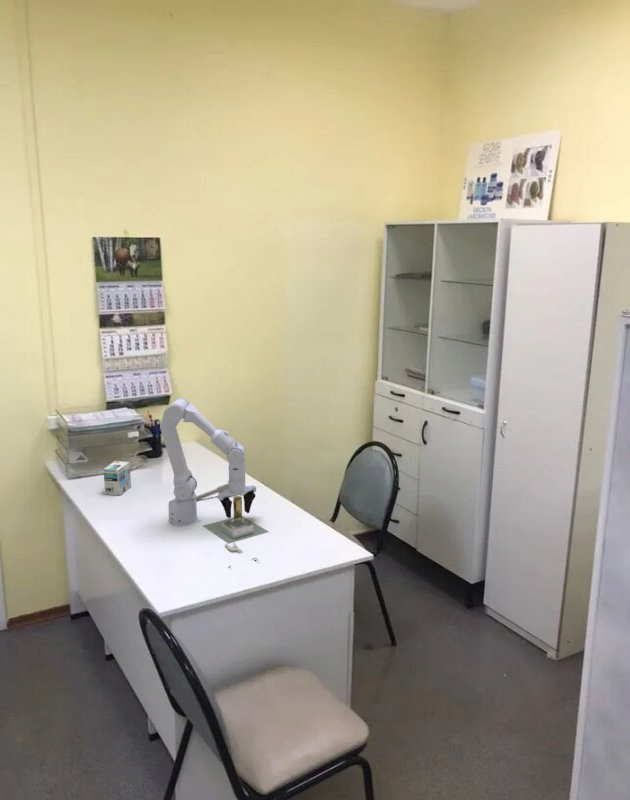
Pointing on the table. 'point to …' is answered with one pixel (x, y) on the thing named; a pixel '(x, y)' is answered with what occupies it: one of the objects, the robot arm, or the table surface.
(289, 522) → the table surface
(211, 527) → the mat
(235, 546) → the pliers
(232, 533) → the silver square socket
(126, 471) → the light bulb box
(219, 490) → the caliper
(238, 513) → the pin
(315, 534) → the table surface
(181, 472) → the robot arm
